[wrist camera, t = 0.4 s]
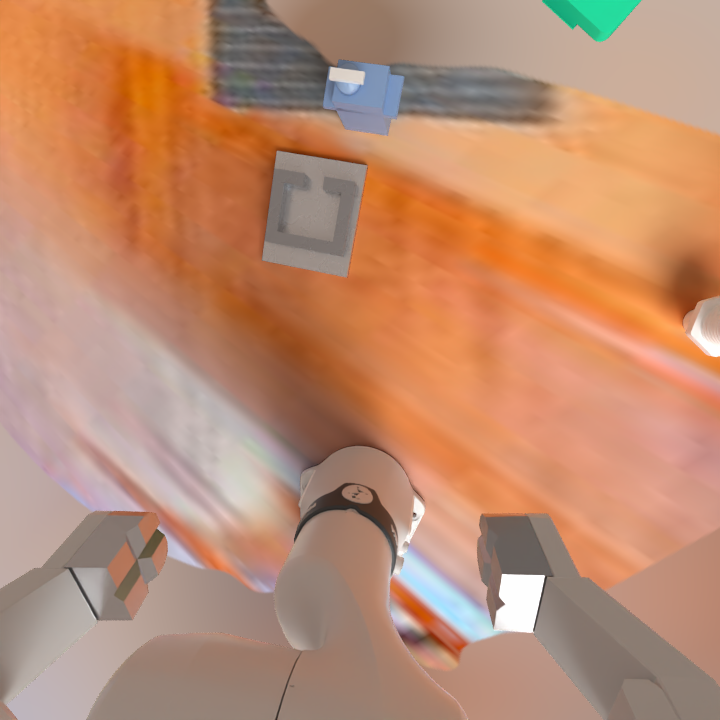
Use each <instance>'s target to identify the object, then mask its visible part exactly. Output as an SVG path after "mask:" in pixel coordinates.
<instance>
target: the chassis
mask: <svg viewBox="0 0 720 720" xmlns="http://www.w3.org/2000/svg"><path fill="white" fill-rule="evenodd" d="M367 170H368V166H367V165H362V164H356V163H349V162H343V161H337V160H331V159H325V158H319V157H313V156H307V155H300V154H294V153H288V152H282V151H277V154H276V161H275V168H274V176H273V183H272V190H271V197H270V205H269V212H268V219H267V227H266V234H265V241H264V249H263V256H262V261H267V262H272V263H277V264H282V265H287V266H292V267H297V268H302V269H307V270H312V271H317V272H322V273H327V274H332V275H337V276H342V277H347V278H348V273H349V268H350V263H351V257H352V252H353V246H354V241H355V235H356V230H357V224H358V219H359V214H360V208H361V203H362V197H363V192H364V186H365V181H366V176H367Z"/></svg>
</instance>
